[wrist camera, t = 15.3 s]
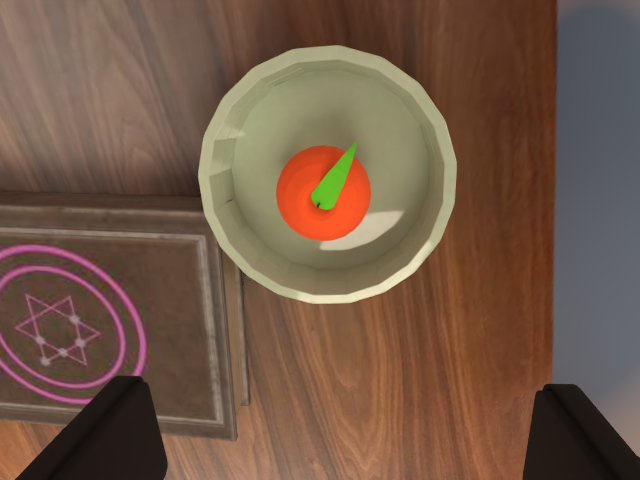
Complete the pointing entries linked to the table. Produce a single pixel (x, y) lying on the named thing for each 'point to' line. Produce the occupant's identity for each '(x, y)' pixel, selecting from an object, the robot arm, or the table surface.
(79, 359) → the book
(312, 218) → the clementine
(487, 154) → the table surface
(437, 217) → the bowl
